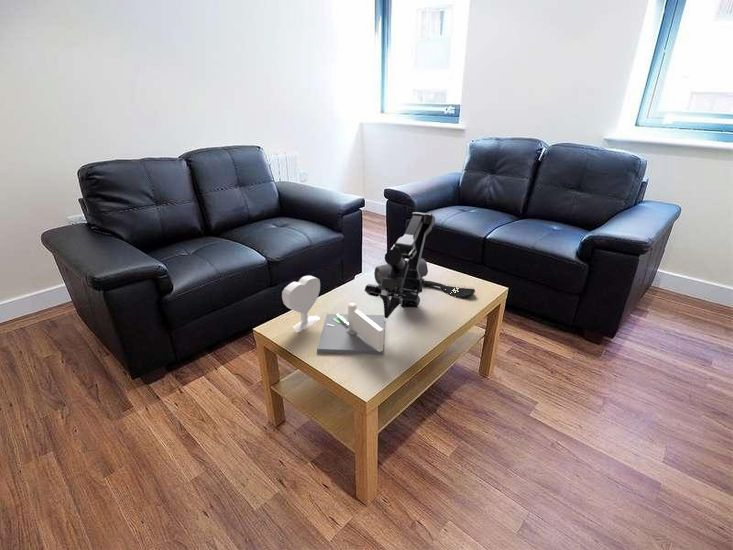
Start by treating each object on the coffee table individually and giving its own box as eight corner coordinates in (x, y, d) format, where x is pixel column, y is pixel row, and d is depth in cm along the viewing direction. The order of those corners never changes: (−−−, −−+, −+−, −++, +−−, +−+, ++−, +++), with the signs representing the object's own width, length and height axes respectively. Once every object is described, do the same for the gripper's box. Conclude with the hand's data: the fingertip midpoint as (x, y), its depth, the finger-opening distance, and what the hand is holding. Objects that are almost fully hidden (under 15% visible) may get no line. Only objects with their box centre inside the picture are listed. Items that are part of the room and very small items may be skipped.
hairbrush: (422, 274, 176) (477, 285, 164) (422, 282, 177) (477, 292, 165) (415, 282, 169) (471, 293, 157) (415, 289, 171) (471, 301, 159)
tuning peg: (333, 316, 144) (332, 293, 140) (340, 314, 146) (339, 291, 142) (377, 355, 124) (377, 329, 119) (384, 352, 125) (385, 326, 121)
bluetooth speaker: (382, 291, 167) (382, 270, 162) (373, 282, 175) (373, 262, 170) (427, 282, 175) (429, 261, 170) (417, 273, 182) (418, 254, 178)
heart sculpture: (314, 312, 151) (311, 271, 143) (323, 317, 149) (321, 275, 141) (284, 331, 140) (279, 287, 132) (294, 335, 137) (289, 291, 130)
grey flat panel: (384, 318, 147) (384, 314, 146) (383, 354, 128) (383, 349, 127) (327, 317, 148) (326, 312, 148) (317, 352, 129) (316, 347, 128)
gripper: (366, 262, 131) (353, 306, 127) (419, 271, 124) (407, 318, 120) (375, 273, 141) (363, 314, 137) (424, 282, 134) (414, 326, 130)
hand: (385, 318), depth 131 cm, fingers closed
